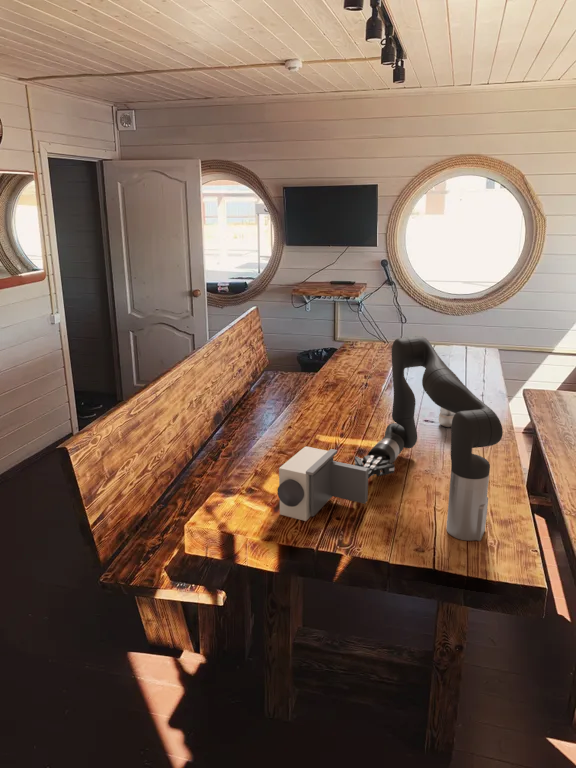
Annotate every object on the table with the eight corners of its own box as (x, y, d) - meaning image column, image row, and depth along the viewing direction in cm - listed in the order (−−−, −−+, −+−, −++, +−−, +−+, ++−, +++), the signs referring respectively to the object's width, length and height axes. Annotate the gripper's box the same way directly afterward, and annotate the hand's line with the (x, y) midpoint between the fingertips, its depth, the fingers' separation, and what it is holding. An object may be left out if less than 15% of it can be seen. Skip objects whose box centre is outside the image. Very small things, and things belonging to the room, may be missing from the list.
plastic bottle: (455, 429, 224) (460, 377, 217) (437, 427, 226) (440, 376, 219) (457, 423, 229) (461, 372, 223) (438, 421, 231) (442, 371, 225)
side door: (367, 503, 170) (368, 464, 166) (349, 525, 159) (350, 484, 156) (330, 495, 175) (330, 457, 172) (310, 515, 164) (310, 475, 161)
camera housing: (336, 497, 176) (337, 450, 172) (309, 526, 161) (309, 475, 157) (305, 489, 181) (305, 443, 176) (276, 517, 166) (275, 468, 161)
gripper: (364, 438, 189) (342, 460, 175) (405, 446, 183) (386, 469, 169) (363, 461, 192) (341, 483, 177) (404, 469, 186) (385, 493, 171)
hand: (363, 476), depth 173 cm, fingers closed
